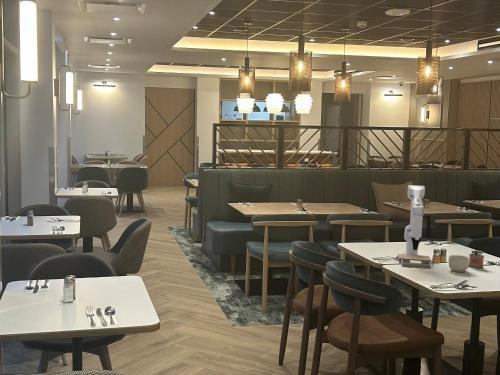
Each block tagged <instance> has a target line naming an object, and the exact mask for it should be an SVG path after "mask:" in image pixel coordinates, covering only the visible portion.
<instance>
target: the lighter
mask: <svg viewBox="0 0 500 375" xmlns="http://www.w3.org/2000/svg"><path fill="white" fill-rule="evenodd" d="M483 254H484V251H482V250H473V249H472V250H471V253H469V254H468V257H469V266H468V268H470V269H471V268H472V269H479V270H483V269H484V259H485V255H483Z"/></svg>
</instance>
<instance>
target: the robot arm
mask: <svg viewBox="0 0 500 375" xmlns="http://www.w3.org/2000/svg"><path fill="white" fill-rule="evenodd" d="M425 191H426V187H425V185H411V184H408V186H407V198H408V199H410V200H411V201H410V219H409V220H410V221H409V224H408V225H407V226H406V227H405V228H404V235H403V236H404V240H405V241H406V243H405V251H404V254H407V255H419V245H420V243H421V241H422V233H423V232H422V230H423V229H422V228H423V216H424V215H425V214H424V213H425V207H424V205H423V200H422V199H424V197H425V193H426V192H425Z"/></svg>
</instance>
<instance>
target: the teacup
mask: <svg viewBox="0 0 500 375" xmlns="http://www.w3.org/2000/svg"><path fill="white" fill-rule="evenodd" d="M468 266H469V256H467V255H460V254H451V255H449V256H448V267H449V269H450V270H451V271H453V272H454V273H455V272H456V273H465V272H466V271H467V270H468V268H469V267H468Z"/></svg>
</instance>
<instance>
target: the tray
mask: <svg viewBox="0 0 500 375" xmlns="http://www.w3.org/2000/svg"><path fill="white" fill-rule="evenodd" d="M412 261H419V260H412ZM421 263H422V264H415V263H410V260H405V259H401V262H400V265H401V267H408V268H419V269H420V268H421V269H432V262H431V263H430V261H421Z"/></svg>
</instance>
